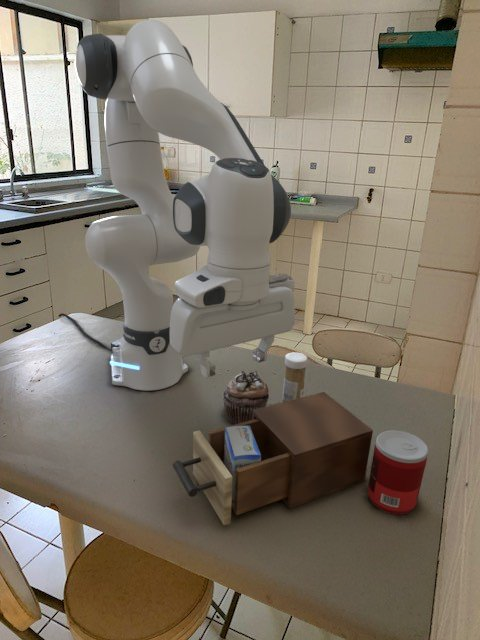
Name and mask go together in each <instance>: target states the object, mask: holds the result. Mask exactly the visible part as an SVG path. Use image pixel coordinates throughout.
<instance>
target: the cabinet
mask: <svg viewBox="0 0 480 640" xmlns="http://www.w3.org/2000/svg"><path fill="white" fill-rule="evenodd" d="M254 419H258V420H259V421H260V423H261V424H262V425H263V426H264V427H265V428H266V429H267V430H268V431H269V432H270V433H271V434H272V435H273V436H274V438H275V439H276V440H277V441H278V442H279V443H280V444H281V445H282V446H283V447H284V448H285V449H286V450H287V451H288V453H289V454H290V455H291V456H292V459H291V469H290V480H289V490H288V497H286V498H283V499H281V500H282V501H283V503H284V504H285V505H286V507H287V508H288V509H289V510H291V509H293V508H296V507H298V506H301V505H304V504H307V503H309V502H312V501H315V500H318V499H320V498H323V497H325V496H328V495H331V494H334V493H336V492H338V491H342V490H344V489H346V488H349V487H352V486H354V485H358V484H361V483H363V482H365V479H366V474H367V469H368V468H367V467H368V463H369V456H370V450H371V444H372V439H373V433H374V429H372V428H371V427H369V426H368V425H367V424H366V423H365V422H363V421H362V420H361V419H360V418H358V417H357V416H356V415H354V414H353V413H352V412H350V411H349V410H348V409H346V408H345V407H344V406H343V405H342V404H340V403H339V402H338V401H336V400H335V399H334V398H332V397H331V396H330V395H328V394H327V393H326V392H324V391H322V392H317V393H314V394H310V395H305V396H303V397H302V398H298V399H294V400H290V401H286V402H283V401H282V402H278V403H274V404H270V405H266V407H262V408H258V409H254V410H252V420H254Z"/></svg>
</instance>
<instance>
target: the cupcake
mask: <svg viewBox="0 0 480 640" xmlns="http://www.w3.org/2000/svg"><path fill="white" fill-rule="evenodd" d="M269 398H270V394H269V387H268V385H267V383H266V382H265V381H264V380H263V379H262V378H261V375H260V373H259V370H254V371H251V372H249V374H247V373H246V372H245V371H243V370H241V371H240V373H239V374H237V375H236V376H234V378H233V379H231V380H230V381H229V382H227V383H226V388H225V389H224V390H223V392H222V401H223V406H224V413H225V418H226V419H227V420H228V421H229V422H230V423H232V424H233V425H235V424H239V423H243V422H247V421H250V420H252V410H254V409H258V408H262V407H266V406H267V403H268V401H269Z"/></svg>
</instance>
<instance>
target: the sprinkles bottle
mask: <svg viewBox="0 0 480 640" xmlns="http://www.w3.org/2000/svg"><path fill="white" fill-rule="evenodd" d="M284 366H285V367H284V376H283V387H282V402H286V401H290V400H294V399H298V398H302V397H304V393H305V392H304V389H305V377H306V368H307V366H308V357H307V355H306V354H304V353H301V352H296V351H292V352H289V353H286V354H285V356H284Z"/></svg>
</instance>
